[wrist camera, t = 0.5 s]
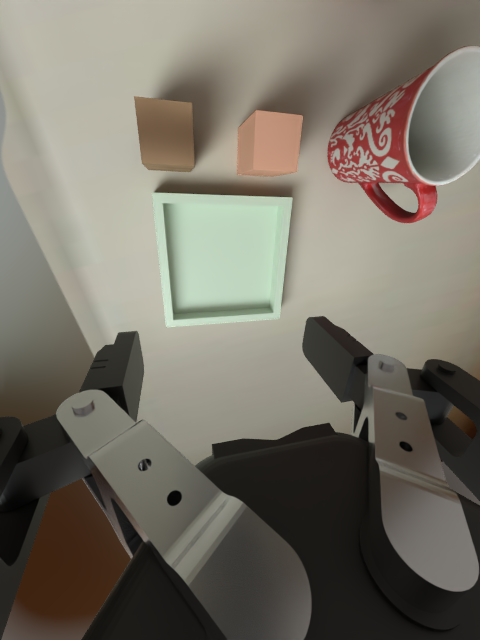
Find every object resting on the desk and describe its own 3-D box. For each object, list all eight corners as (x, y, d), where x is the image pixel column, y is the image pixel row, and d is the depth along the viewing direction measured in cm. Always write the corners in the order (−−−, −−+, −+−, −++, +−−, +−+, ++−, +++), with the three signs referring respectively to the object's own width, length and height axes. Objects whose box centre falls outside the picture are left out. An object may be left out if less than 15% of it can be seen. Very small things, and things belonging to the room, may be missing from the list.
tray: (153, 192, 29) (151, 192, 27) (284, 197, 33) (292, 197, 30) (166, 319, 36) (166, 327, 34) (273, 311, 40) (279, 318, 37)
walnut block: (143, 119, 26) (134, 96, 20) (187, 123, 27) (192, 102, 21) (148, 169, 28) (141, 163, 22) (190, 172, 29) (194, 166, 23)
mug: (316, 112, 30) (411, 58, 18) (386, 95, 30) (521, 32, 19) (324, 224, 36) (399, 240, 24) (382, 207, 36) (482, 213, 25)
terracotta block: (238, 128, 28) (255, 109, 22) (276, 131, 29) (303, 115, 23) (237, 174, 30) (253, 169, 24) (272, 176, 31) (296, 172, 25)
